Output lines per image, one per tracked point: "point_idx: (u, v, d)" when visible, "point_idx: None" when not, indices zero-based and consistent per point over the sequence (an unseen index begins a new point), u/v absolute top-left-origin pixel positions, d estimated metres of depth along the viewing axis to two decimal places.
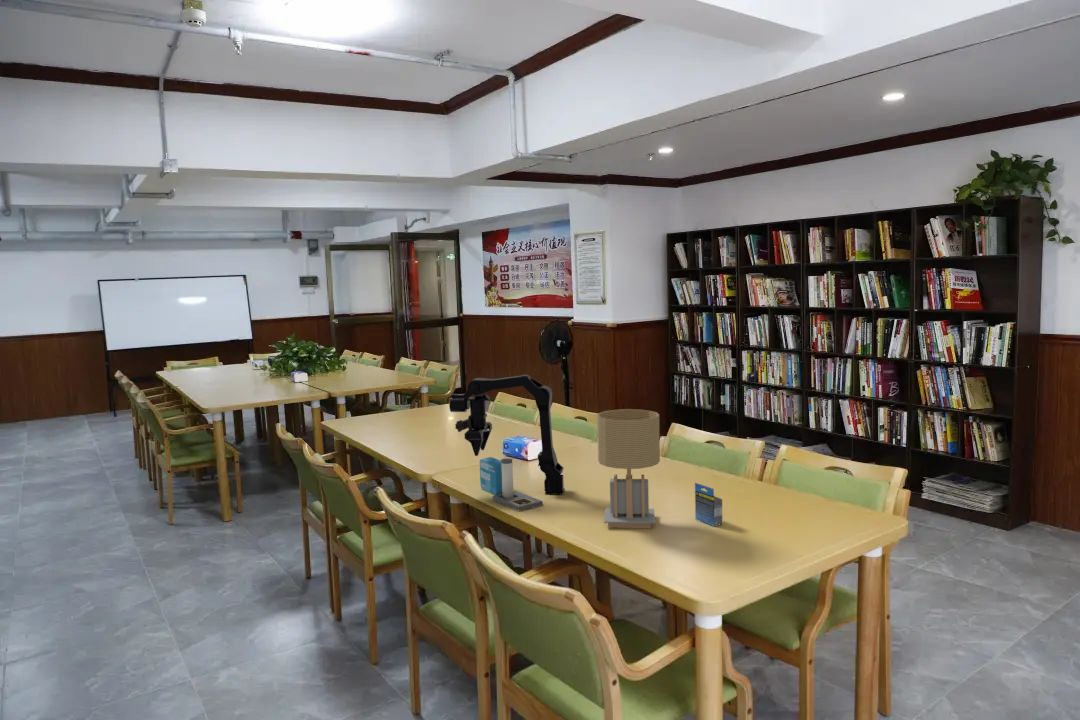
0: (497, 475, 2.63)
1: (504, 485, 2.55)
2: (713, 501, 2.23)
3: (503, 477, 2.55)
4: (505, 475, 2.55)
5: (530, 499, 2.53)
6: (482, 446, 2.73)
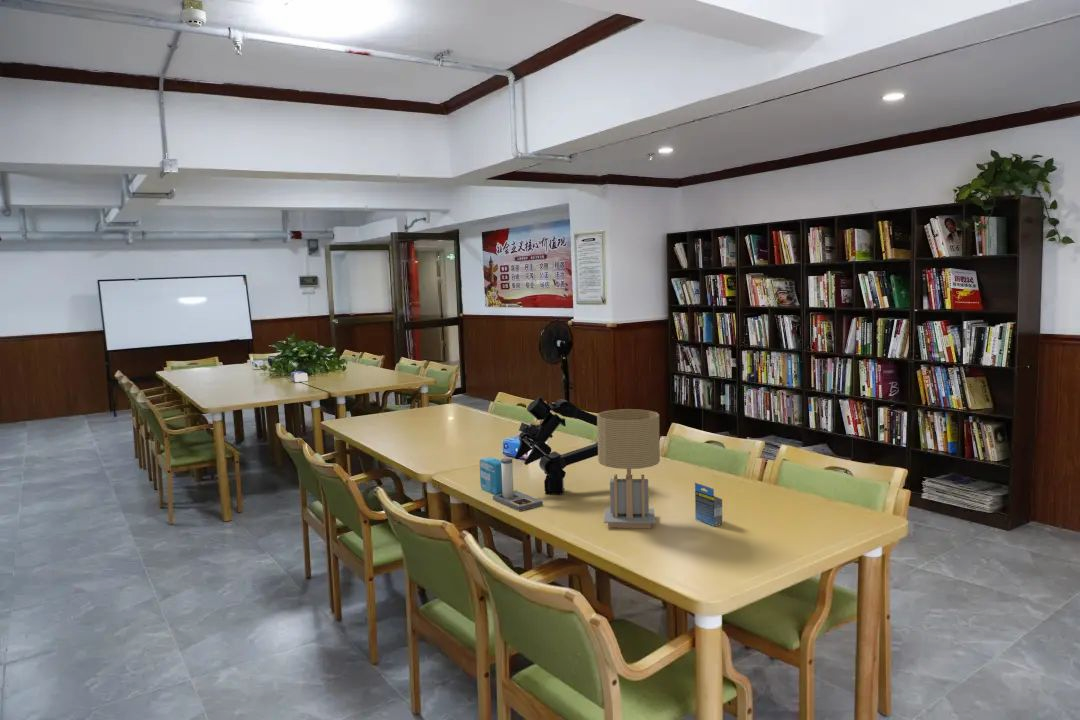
0: (497, 475, 2.63)
1: (504, 485, 2.55)
2: (713, 501, 2.23)
3: (503, 477, 2.55)
4: (505, 475, 2.55)
5: (530, 499, 2.53)
6: (518, 456, 2.64)
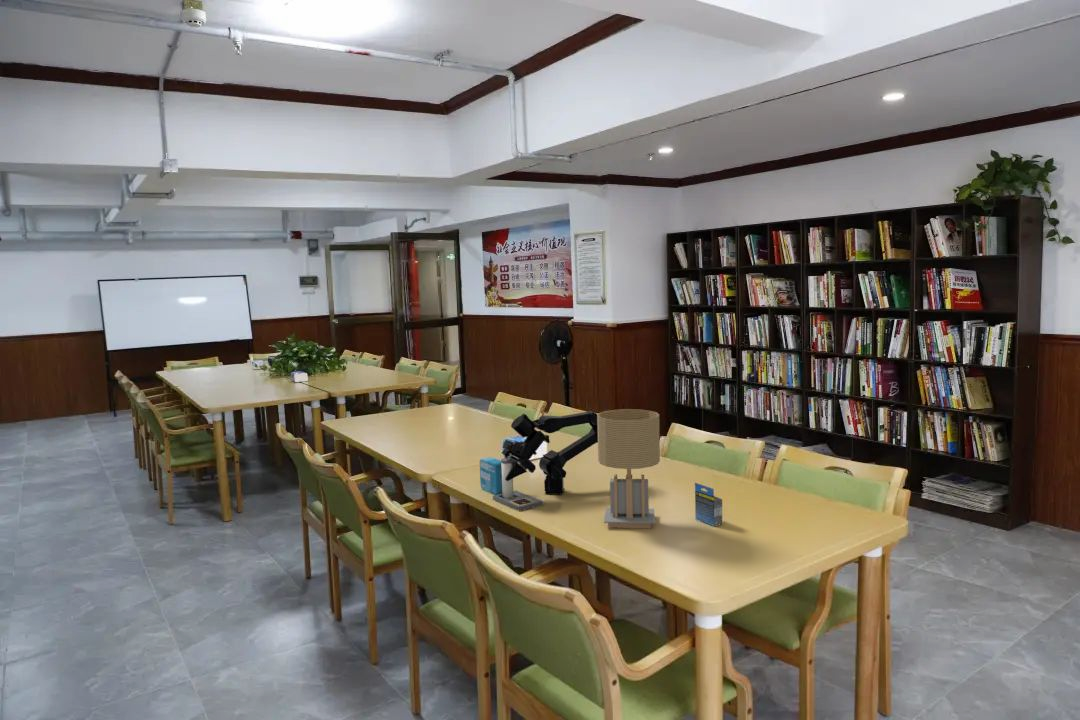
0: (497, 475, 2.63)
1: (504, 485, 2.55)
2: (713, 501, 2.23)
3: (503, 477, 2.55)
4: (505, 475, 2.55)
5: (530, 499, 2.53)
6: None
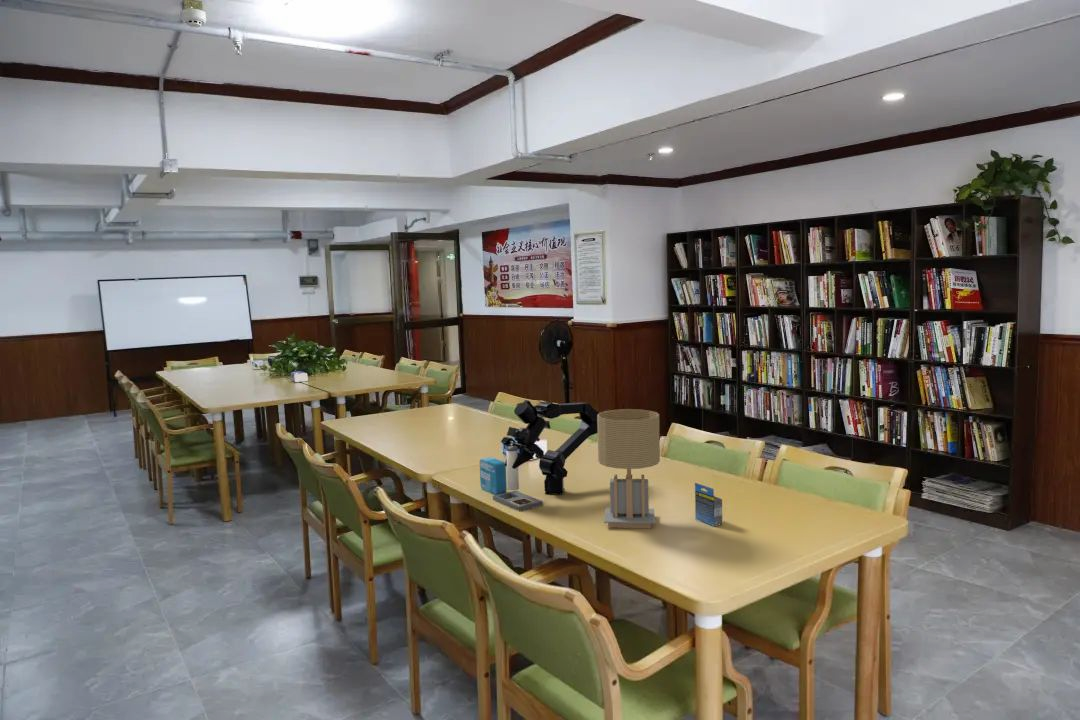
0: (497, 475, 2.63)
1: (510, 473, 2.51)
2: (713, 501, 2.23)
3: (509, 465, 2.51)
4: (511, 463, 2.50)
5: (530, 499, 2.53)
6: None
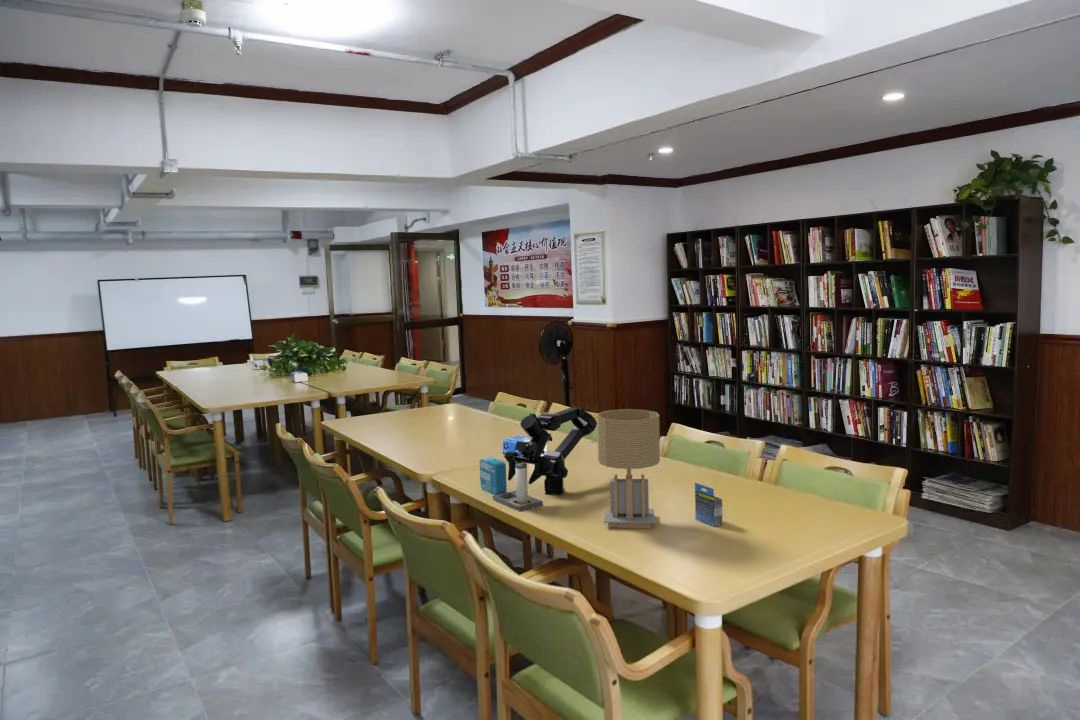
0: (497, 475, 2.63)
1: (521, 491, 2.48)
2: (713, 501, 2.23)
3: (519, 483, 2.48)
4: (522, 481, 2.47)
5: (530, 499, 2.53)
6: (510, 476, 2.52)
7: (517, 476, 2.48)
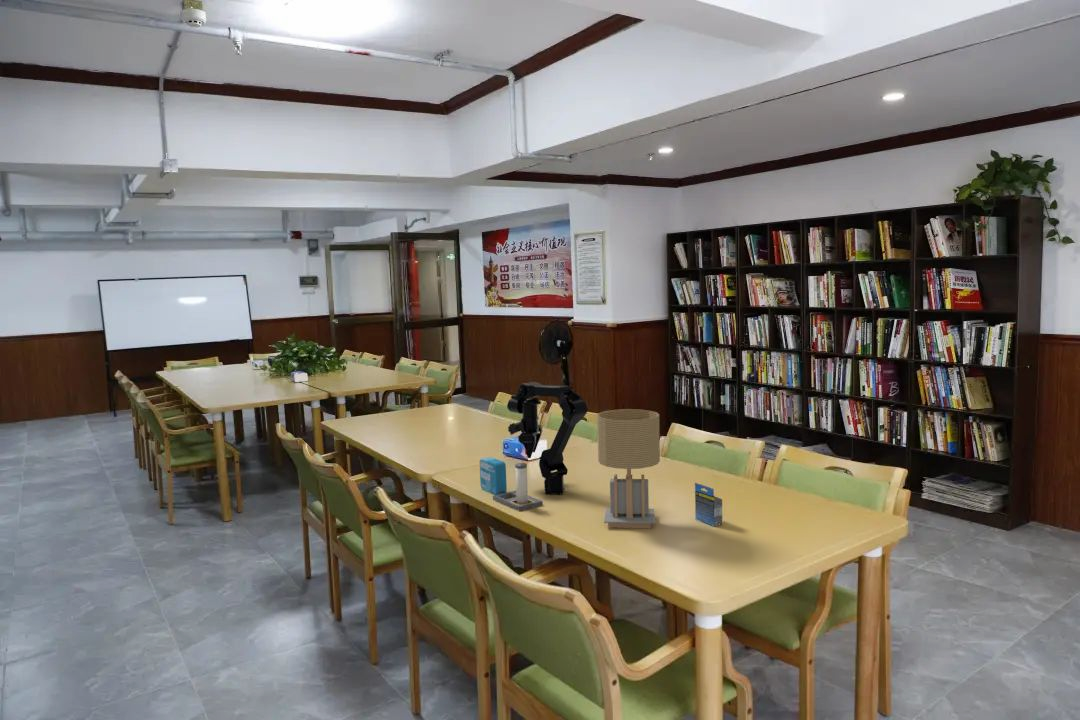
0: (497, 475, 2.63)
1: (521, 491, 2.48)
2: (713, 501, 2.23)
3: (519, 483, 2.48)
4: (522, 481, 2.47)
5: (530, 499, 2.53)
6: (533, 448, 2.78)
7: (517, 476, 2.48)
